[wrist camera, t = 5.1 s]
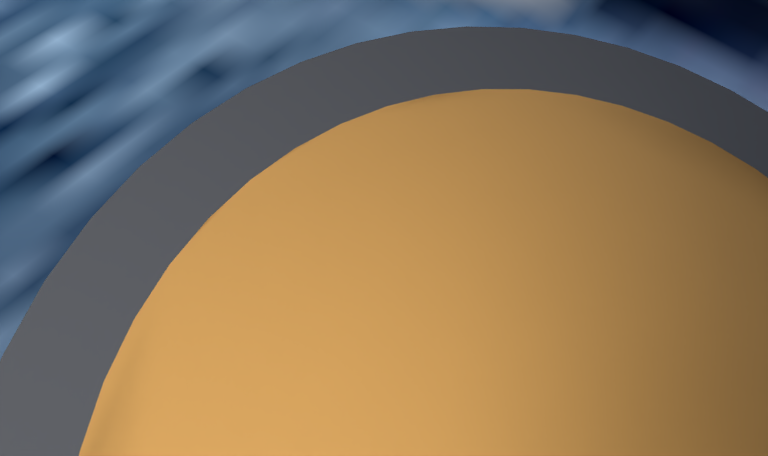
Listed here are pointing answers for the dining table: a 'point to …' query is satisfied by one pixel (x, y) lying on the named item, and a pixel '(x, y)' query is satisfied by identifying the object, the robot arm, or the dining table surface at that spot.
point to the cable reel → (420, 267)
